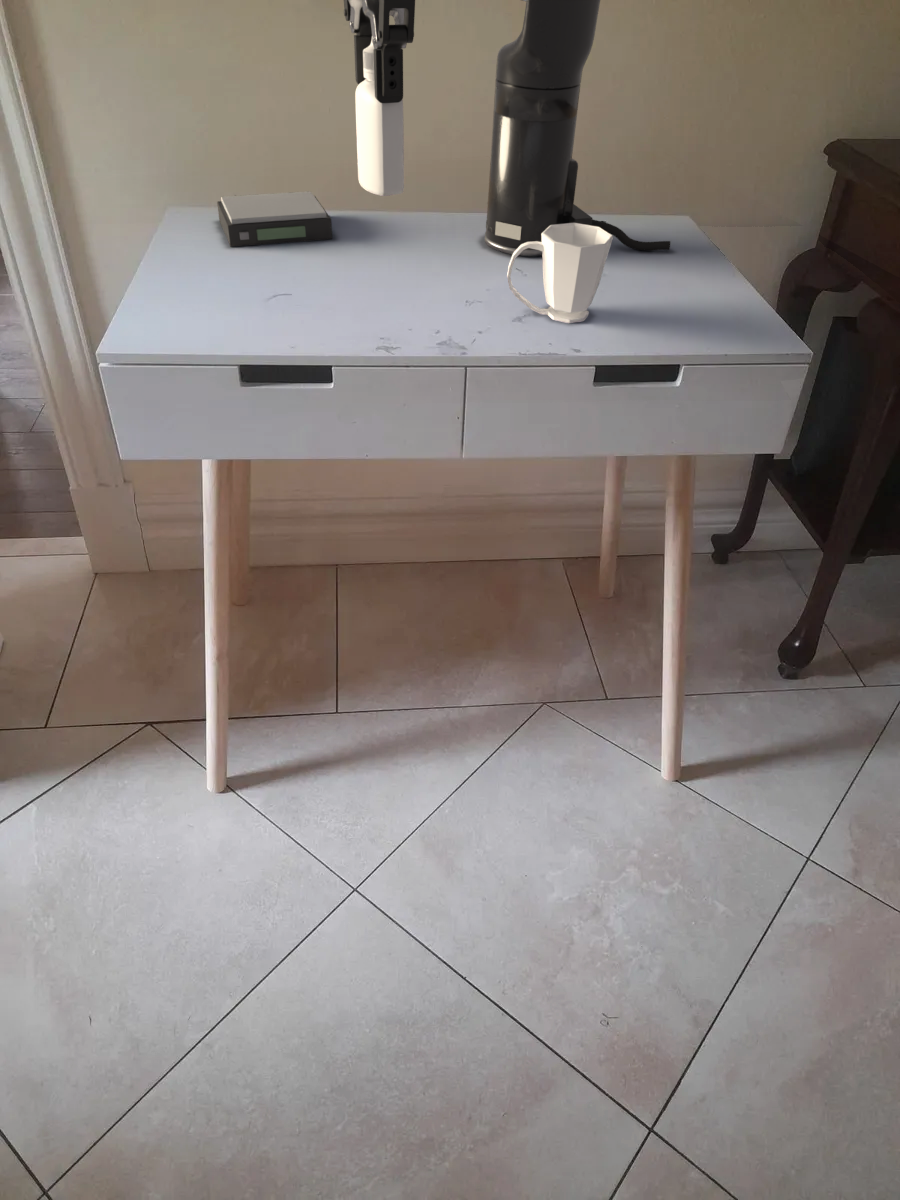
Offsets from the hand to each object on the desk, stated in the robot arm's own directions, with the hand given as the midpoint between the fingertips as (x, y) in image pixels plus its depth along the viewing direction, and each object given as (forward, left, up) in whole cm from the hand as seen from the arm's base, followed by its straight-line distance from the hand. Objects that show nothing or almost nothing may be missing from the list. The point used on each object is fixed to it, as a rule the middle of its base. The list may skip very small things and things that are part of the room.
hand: (378, 92), depth 74 cm
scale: (+5, -29, -20) cm, 36 cm away
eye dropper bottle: (0, 0, -8) cm, 8 cm away
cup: (-18, +2, -21) cm, 27 cm away
